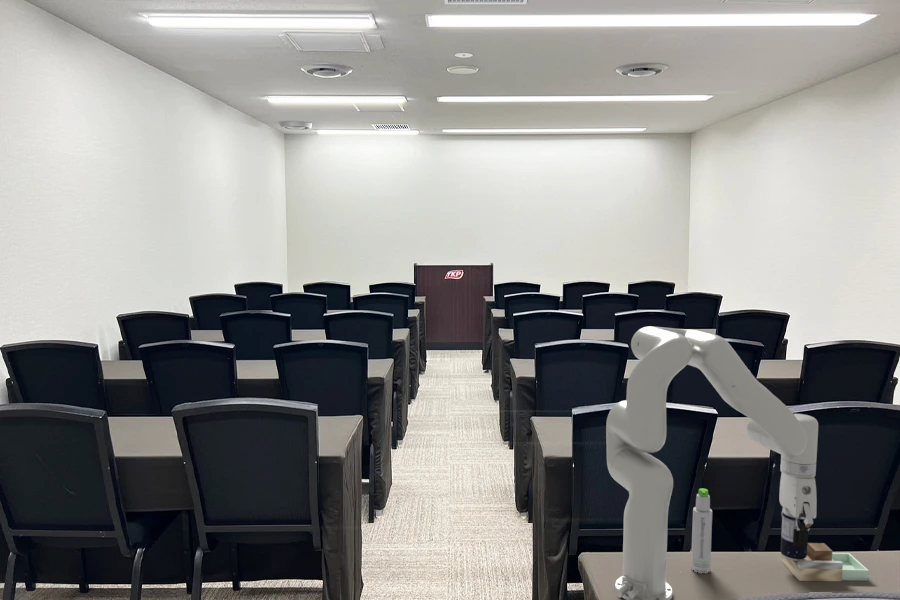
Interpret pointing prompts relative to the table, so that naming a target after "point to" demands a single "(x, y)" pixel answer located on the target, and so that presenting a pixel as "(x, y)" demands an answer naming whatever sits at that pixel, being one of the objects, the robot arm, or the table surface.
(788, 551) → the beverage can
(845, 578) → the tray
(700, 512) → the bottle
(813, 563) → the slot board
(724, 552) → the table surface
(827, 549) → the brown block
